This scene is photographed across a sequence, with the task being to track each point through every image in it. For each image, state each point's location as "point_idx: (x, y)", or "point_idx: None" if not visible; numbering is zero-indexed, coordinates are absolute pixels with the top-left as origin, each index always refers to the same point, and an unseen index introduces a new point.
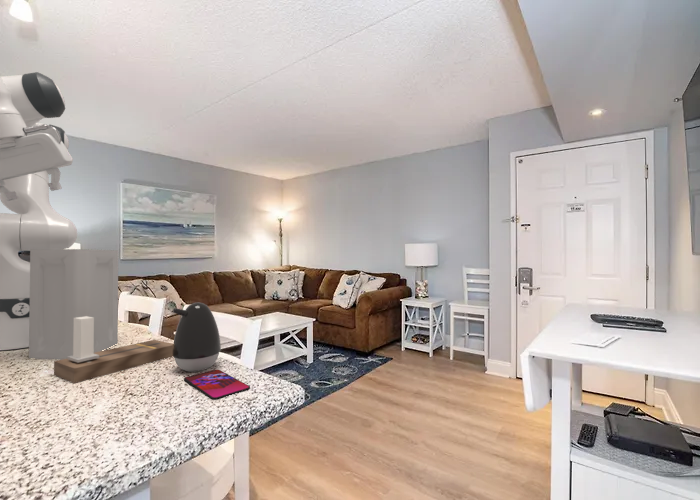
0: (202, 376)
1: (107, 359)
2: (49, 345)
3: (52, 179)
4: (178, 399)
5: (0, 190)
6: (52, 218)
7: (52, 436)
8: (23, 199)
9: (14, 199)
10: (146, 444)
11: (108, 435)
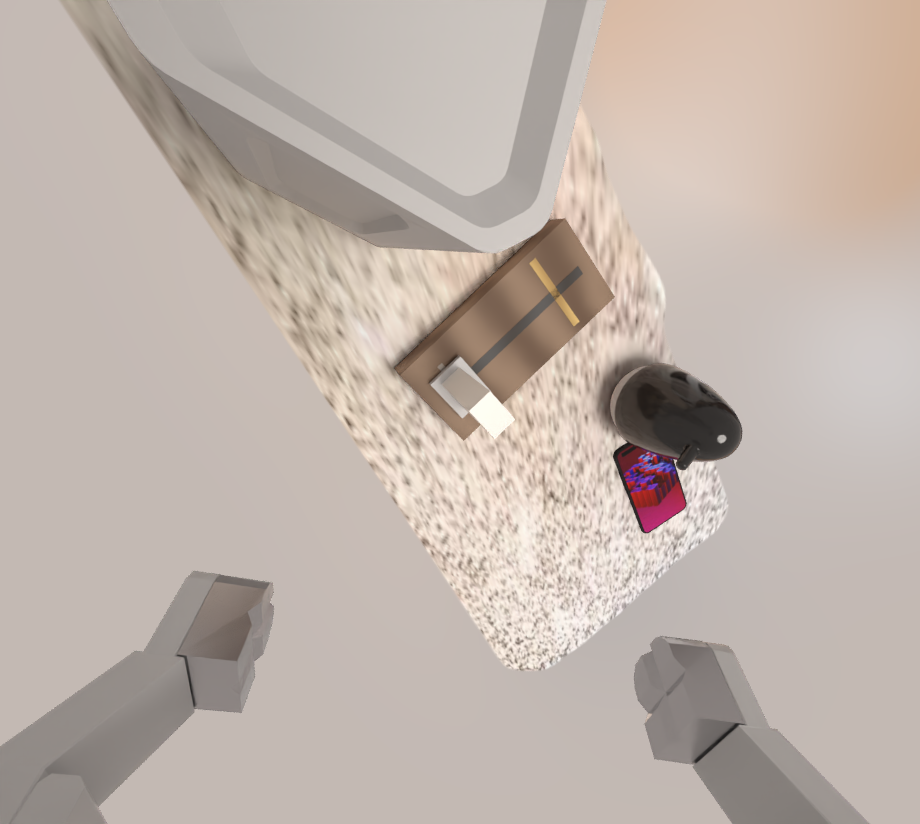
0: (639, 456)
1: (503, 392)
2: (304, 198)
3: (732, 803)
4: (607, 524)
5: (141, 753)
6: None
7: (501, 596)
8: None
9: (272, 614)
10: (586, 616)
11: (551, 599)
